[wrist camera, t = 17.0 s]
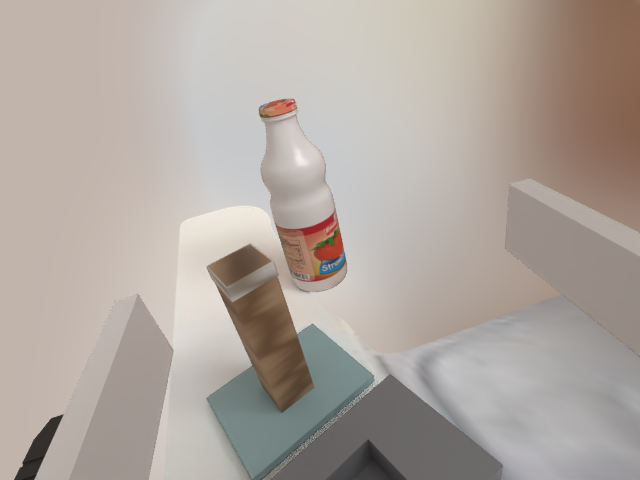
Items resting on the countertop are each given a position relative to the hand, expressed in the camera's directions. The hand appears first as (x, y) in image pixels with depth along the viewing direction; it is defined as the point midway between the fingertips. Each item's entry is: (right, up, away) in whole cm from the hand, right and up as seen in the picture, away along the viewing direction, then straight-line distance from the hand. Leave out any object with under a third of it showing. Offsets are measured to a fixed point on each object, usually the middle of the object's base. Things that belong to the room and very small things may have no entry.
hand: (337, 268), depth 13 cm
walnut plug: (-4, -16, +29) cm, 34 cm away
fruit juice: (0, -5, +48) cm, 48 cm away
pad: (-4, -17, +30) cm, 35 cm away
